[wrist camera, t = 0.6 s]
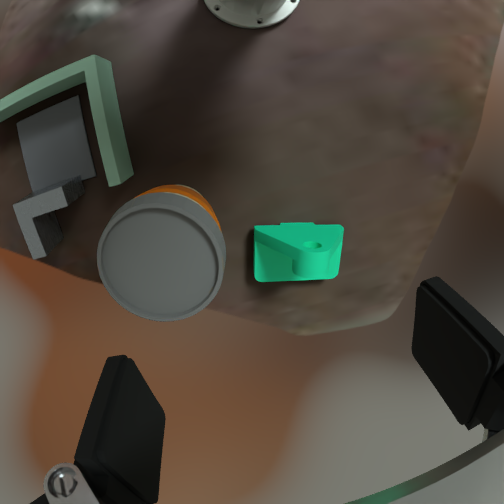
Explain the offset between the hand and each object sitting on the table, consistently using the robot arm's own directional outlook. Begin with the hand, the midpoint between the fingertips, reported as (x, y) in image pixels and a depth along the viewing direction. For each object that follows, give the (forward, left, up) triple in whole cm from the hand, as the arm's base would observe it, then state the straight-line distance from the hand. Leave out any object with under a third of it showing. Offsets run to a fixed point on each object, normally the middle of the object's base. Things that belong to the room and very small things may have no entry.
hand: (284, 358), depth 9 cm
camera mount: (+12, +7, -34) cm, 37 cm away
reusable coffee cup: (+4, -9, -34) cm, 35 cm away
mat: (-10, -24, -34) cm, 42 cm away
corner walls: (-10, -23, -34) cm, 42 cm away
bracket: (-1, -25, -34) cm, 42 cm away
